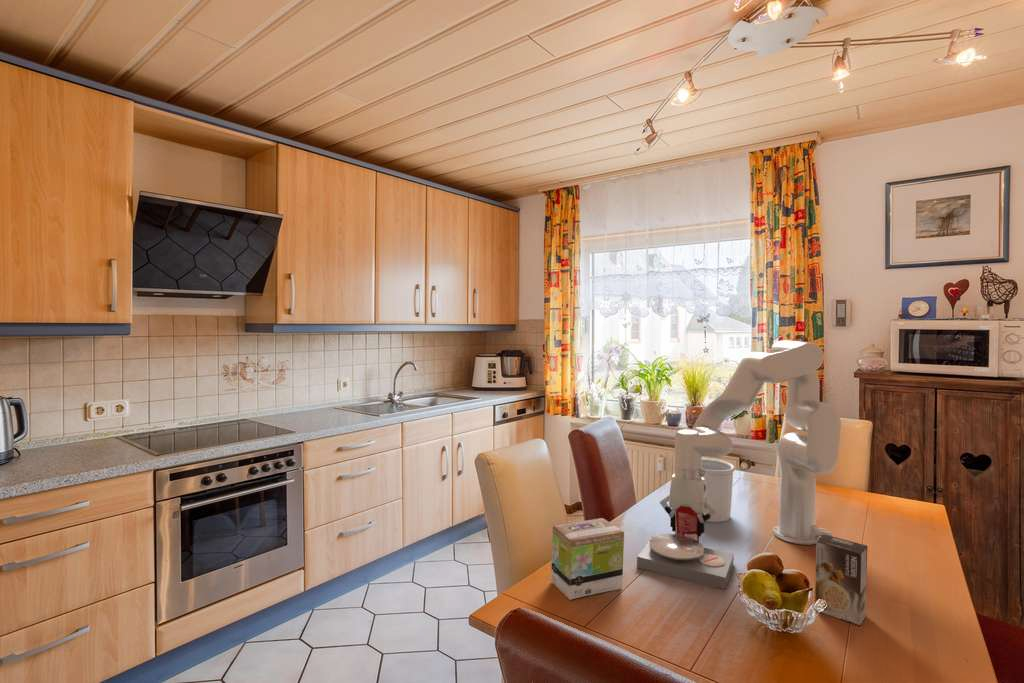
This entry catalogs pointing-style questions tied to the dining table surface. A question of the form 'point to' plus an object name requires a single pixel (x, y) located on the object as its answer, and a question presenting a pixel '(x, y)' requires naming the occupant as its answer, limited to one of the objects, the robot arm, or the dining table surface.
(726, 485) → the utensil holder
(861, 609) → the coffee box
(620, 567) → the tea box
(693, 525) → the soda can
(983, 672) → the dining table surface
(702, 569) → the scale
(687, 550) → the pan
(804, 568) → the dining table surface
